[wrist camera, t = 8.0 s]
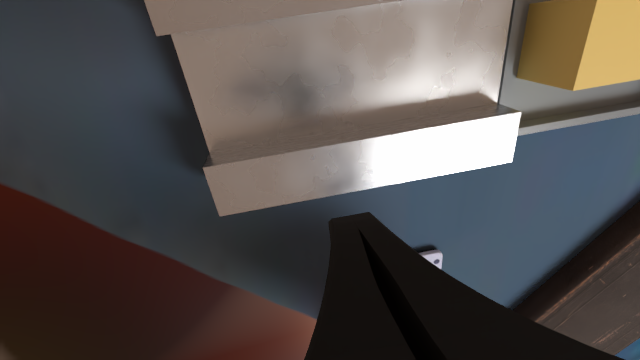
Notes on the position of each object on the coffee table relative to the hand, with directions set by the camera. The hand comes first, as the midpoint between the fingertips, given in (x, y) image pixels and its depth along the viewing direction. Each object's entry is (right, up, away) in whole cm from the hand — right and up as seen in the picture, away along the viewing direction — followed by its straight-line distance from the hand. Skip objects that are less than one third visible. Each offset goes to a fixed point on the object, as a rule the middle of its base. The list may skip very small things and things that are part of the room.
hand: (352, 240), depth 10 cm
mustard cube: (+13, +10, +8) cm, 18 cm away
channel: (+1, +8, +8) cm, 11 cm away
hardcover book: (+29, -8, +22) cm, 37 cm away
